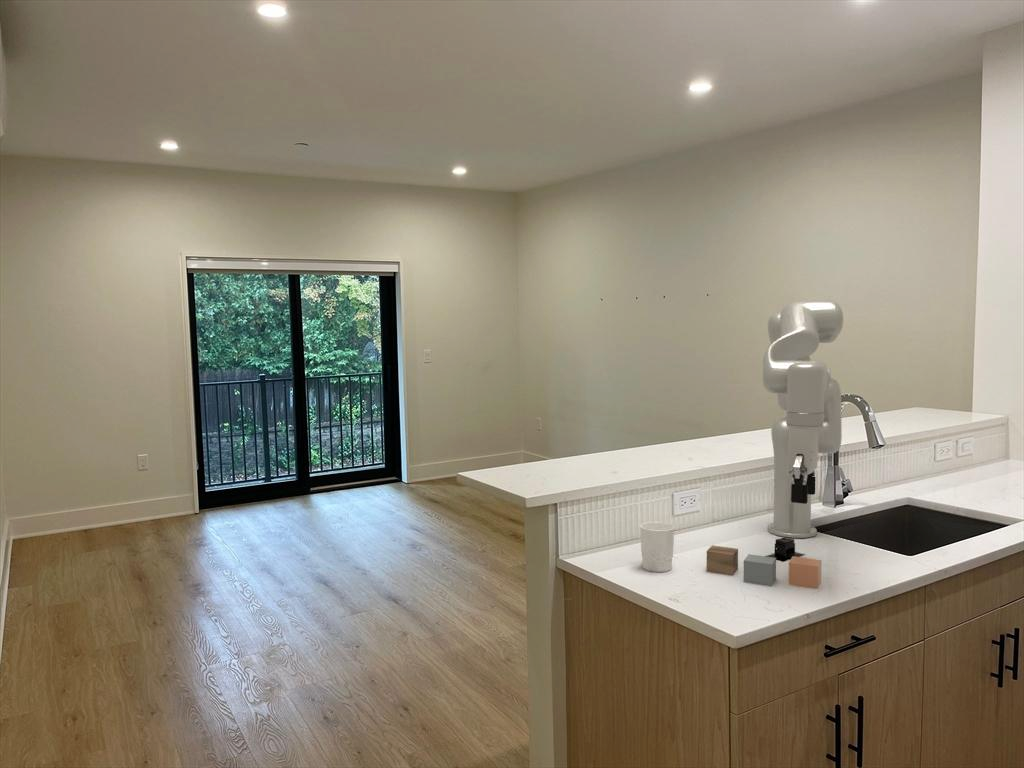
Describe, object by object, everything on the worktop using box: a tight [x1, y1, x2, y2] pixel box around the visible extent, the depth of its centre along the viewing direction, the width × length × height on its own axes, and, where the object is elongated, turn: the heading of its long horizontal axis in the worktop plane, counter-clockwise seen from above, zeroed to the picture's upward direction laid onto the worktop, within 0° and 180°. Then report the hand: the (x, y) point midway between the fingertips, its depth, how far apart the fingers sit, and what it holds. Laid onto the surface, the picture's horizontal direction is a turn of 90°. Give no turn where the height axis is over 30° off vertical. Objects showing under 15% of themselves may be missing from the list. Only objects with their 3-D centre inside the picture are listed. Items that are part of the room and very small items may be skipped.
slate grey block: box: [742, 553, 777, 587], centre depth 164 cm, size 5×6×5 cm
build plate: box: [765, 536, 806, 563], centre depth 181 cm, size 12×7×5 cm, turn 125°
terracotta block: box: [788, 556, 822, 590], centre depth 162 cm, size 5×6×5 cm
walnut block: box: [706, 544, 739, 577], centre depth 171 cm, size 5×6×5 cm
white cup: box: [639, 521, 675, 573], centre depth 174 cm, size 8×8×10 cm
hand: (803, 498), depth 161 cm, fingers open, 9 cm apart
